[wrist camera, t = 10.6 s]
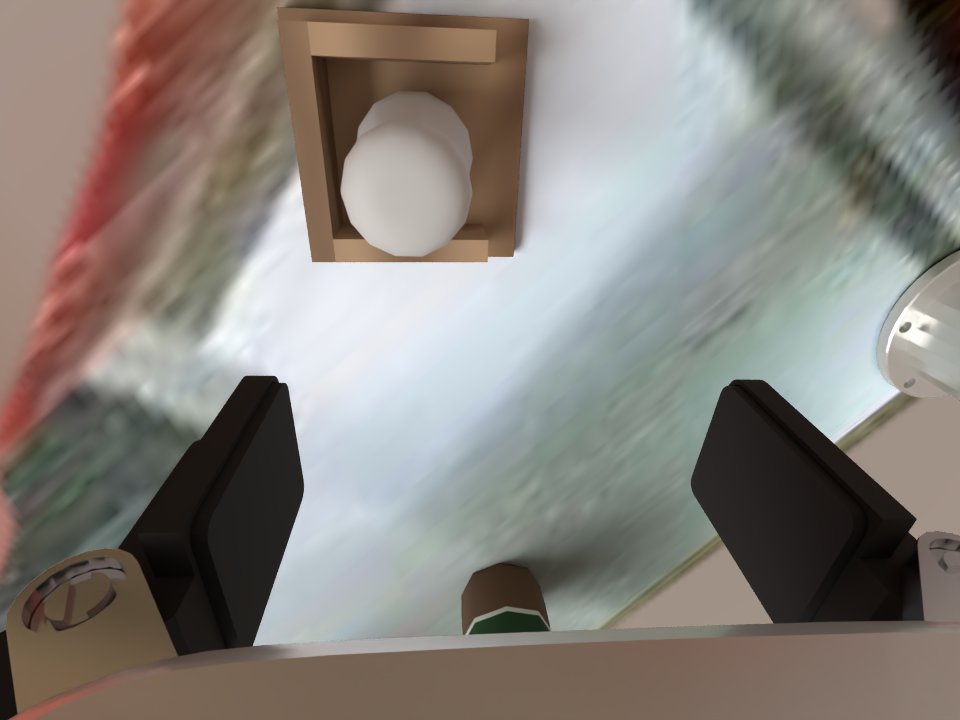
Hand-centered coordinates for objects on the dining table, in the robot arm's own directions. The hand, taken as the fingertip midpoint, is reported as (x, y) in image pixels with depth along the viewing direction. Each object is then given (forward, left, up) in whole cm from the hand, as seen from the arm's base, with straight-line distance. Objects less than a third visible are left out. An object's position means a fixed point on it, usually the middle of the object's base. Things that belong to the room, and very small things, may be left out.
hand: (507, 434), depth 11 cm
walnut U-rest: (+3, -4, -21) cm, 22 cm away
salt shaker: (+2, -3, -21) cm, 21 cm away
